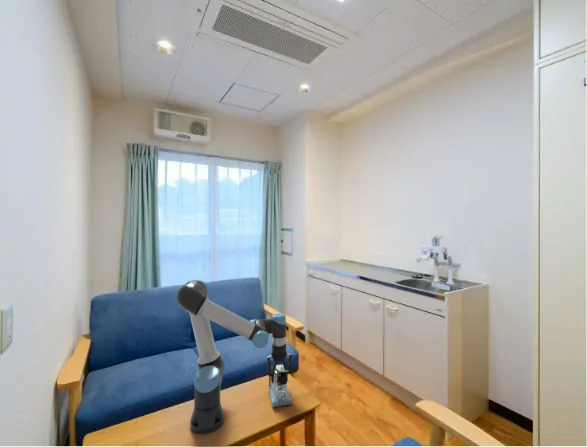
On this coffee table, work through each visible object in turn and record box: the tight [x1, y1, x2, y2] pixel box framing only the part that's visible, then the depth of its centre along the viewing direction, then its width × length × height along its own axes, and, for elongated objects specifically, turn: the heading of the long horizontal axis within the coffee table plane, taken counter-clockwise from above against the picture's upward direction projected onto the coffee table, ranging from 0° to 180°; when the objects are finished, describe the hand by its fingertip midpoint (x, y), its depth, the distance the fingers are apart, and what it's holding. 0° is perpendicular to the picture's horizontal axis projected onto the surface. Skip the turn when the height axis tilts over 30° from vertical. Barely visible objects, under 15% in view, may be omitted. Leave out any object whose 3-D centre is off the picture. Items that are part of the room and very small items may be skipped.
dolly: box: [267, 365, 293, 409], centre depth 147 cm, size 10×16×14 cm, turn 13°
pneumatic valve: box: [274, 363, 289, 391], centre depth 146 cm, size 6×12×12 cm, turn 20°
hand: (279, 387), depth 147 cm, fingers closed on pneumatic valve, 5 cm apart
